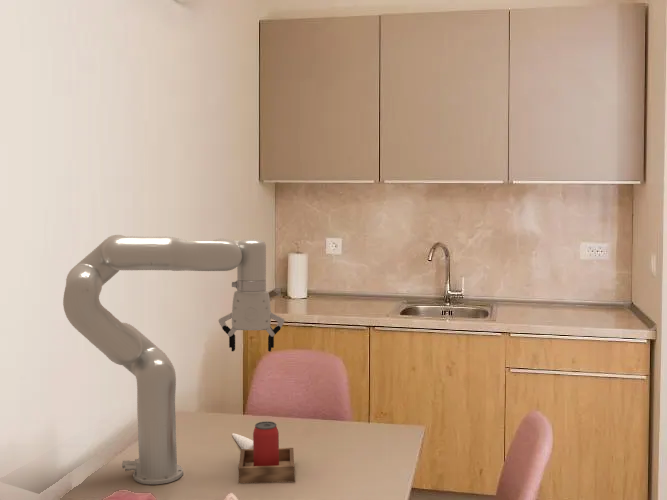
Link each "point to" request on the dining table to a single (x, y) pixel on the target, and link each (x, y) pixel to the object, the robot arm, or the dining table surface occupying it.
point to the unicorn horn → (243, 441)
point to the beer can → (266, 444)
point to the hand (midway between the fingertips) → (251, 350)
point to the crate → (266, 468)
